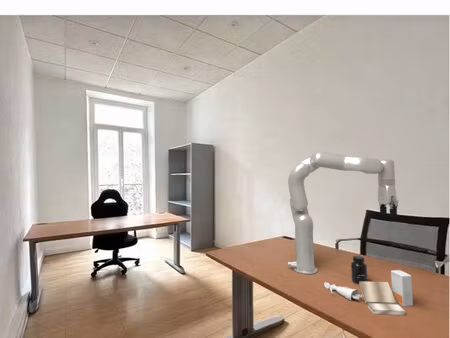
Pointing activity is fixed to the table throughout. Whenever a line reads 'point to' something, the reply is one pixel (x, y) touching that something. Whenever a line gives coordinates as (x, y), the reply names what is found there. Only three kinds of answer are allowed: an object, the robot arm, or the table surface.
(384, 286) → the beige flat panel
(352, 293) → the woman figurine
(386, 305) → the laid board
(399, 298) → the skincare box
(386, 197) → the robot arm
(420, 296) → the table surface
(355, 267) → the supplement bottle
